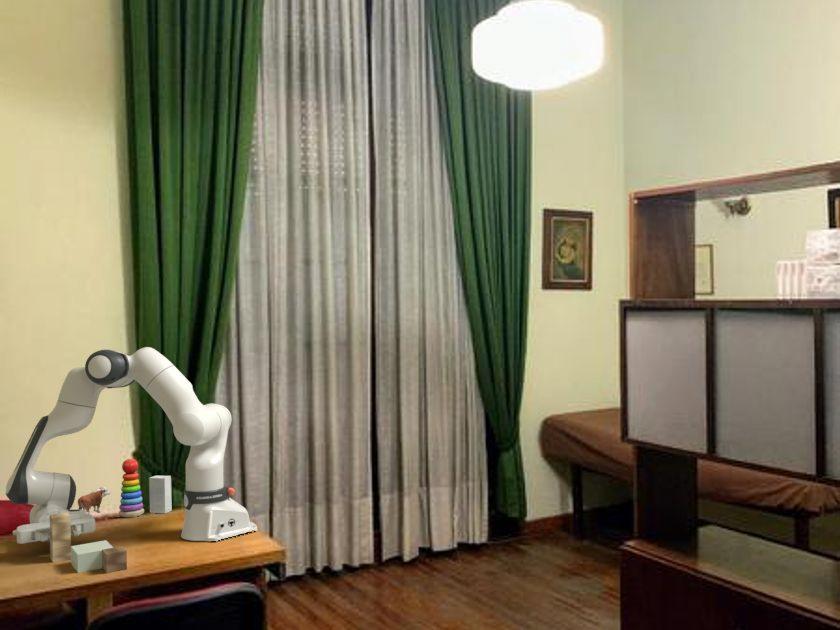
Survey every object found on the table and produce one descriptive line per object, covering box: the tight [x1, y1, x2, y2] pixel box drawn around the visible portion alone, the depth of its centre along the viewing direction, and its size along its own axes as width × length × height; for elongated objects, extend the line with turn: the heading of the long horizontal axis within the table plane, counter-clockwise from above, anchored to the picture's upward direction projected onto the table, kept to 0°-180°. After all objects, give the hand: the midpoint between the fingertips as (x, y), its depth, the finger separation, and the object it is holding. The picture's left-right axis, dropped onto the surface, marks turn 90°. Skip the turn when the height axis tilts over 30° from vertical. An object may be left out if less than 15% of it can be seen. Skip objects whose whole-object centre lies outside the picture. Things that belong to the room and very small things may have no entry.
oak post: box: [49, 512, 72, 563], centre depth 212 cm, size 4×4×12 cm
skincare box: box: [148, 475, 173, 514], centre depth 261 cm, size 6×4×12 cm
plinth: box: [70, 539, 114, 573], centre depth 206 cm, size 9×9×5 cm
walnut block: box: [101, 545, 128, 574], centre depth 203 cm, size 5×5×5 cm
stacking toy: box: [118, 458, 145, 518], centre depth 258 cm, size 8×8×19 cm
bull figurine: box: [77, 486, 111, 517], centre depth 260 cm, size 4×13×8 cm, turn 161°
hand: (61, 535), depth 211 cm, fingers open, 7 cm apart
